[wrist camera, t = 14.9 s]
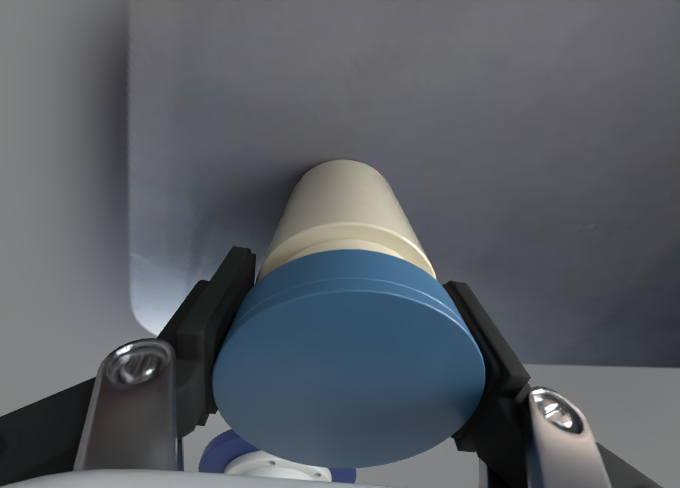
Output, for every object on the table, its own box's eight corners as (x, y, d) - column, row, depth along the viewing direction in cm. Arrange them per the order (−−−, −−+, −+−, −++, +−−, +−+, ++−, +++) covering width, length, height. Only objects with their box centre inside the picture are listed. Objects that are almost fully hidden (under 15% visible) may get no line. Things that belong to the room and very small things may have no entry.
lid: (490, 369, 9) (520, 423, 8) (317, 435, 11) (315, 491, 9) (395, 198, 6) (414, 231, 5) (183, 320, 8) (148, 372, 6)
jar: (393, 256, 18) (440, 399, 10) (295, 261, 18) (261, 405, 10) (398, 156, 15) (472, 241, 7) (281, 162, 15) (216, 253, 7)
